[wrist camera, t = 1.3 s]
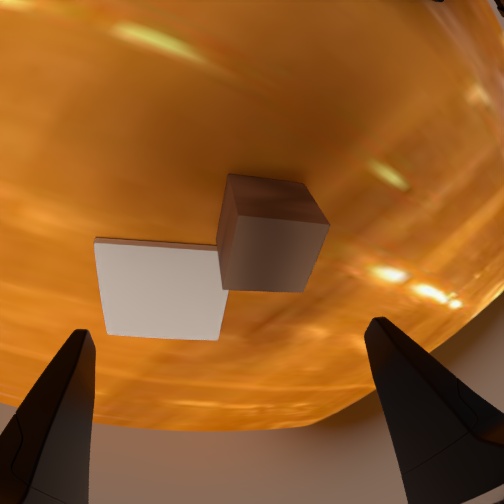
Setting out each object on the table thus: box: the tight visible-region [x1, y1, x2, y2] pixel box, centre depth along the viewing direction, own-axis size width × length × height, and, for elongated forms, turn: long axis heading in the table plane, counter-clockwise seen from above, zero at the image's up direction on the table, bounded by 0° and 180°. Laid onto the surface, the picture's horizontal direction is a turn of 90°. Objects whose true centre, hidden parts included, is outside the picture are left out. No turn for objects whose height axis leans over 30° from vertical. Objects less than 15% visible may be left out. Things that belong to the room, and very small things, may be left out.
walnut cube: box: [216, 174, 330, 292], centre depth 20 cm, size 5×5×5 cm
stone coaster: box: [94, 238, 229, 340], centre depth 25 cm, size 10×10×1 cm
